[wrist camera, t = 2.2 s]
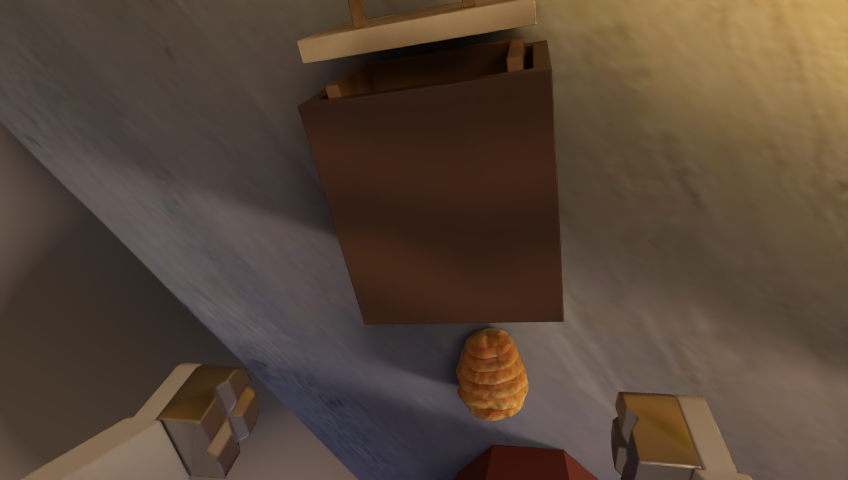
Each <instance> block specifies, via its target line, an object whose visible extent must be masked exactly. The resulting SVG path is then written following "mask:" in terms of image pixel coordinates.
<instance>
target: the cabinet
mask: <svg viewBox="0 0 848 480" xmlns="http://www.w3.org/2000/svg"><path fill="white" fill-rule="evenodd" d="M524 45H525V58H526V69H525V70H518V71H511V72H505V73H498V74H491V75H484V76H478V77H471V78H464V79H457V80H451V81H444V82H437V83H430V84H424V85H417V86H410V87H403V88H396V89H390V90H383V91H376V92H369V93H363V94H356V95H349V96H342V97H336V98H328V95H327V91H326V88H325V89H324V90H322V91H321V92H319V93H318V94H316V95H315V96H313V97H312V98H310V99H308V100H307V101H305V102H304V103H302V104H301V105H299V106H298V109H299V112H300V115H301V118H302V122H303V125H304V128H305V132H306V135H307V138H308V141H309V145H310V148H311V151H312V154H313V158H314V161H315V164H316V167H317V171H318V174H319V177H320V180H321V184H322V187H323V190H324V193H325V197H326V200H327V203H328V206H329V210H330V213H331V216H332V220H333V223H334V226H335V229H336V233H337V236H338V239H339V242H340V246H341V249H342V252H343V255H344V259H345V262H346V265H347V268H348V272H349V275H350V278H351V281H352V285H353V288H354V291H355V294H356V298H357V301H358V304H359V308H360V311H361V314H362V317H363V321H364V324H365V325H369V324H436V323H502V322H563V321H564V306H563V286H562V265H561V244H560V224H559V203H558V182H557V162H556V141H555V120H554V100H553V79H552V67H551V61H550V56H549V50H548V44H547V41H546V40H545V41H539V42H533V43H526V44H524Z"/></svg>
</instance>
